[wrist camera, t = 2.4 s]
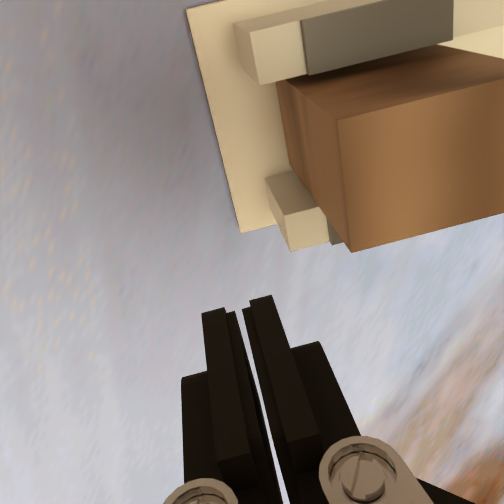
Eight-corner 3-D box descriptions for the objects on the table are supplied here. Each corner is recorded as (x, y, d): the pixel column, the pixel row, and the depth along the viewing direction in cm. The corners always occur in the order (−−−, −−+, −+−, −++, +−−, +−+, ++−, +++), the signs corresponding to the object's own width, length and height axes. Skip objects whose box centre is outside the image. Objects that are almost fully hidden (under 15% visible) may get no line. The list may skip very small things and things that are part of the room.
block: (289, 164, 26) (351, 252, 18) (273, 70, 24) (337, 120, 15) (410, 133, 26) (530, 205, 18) (408, 37, 24) (545, 67, 15)
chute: (238, 225, 29) (256, 282, 23) (185, 8, 23) (192, 16, 17) (638, 122, 30) (746, 153, 24) (691, -113, 24) (851, -142, 18)
